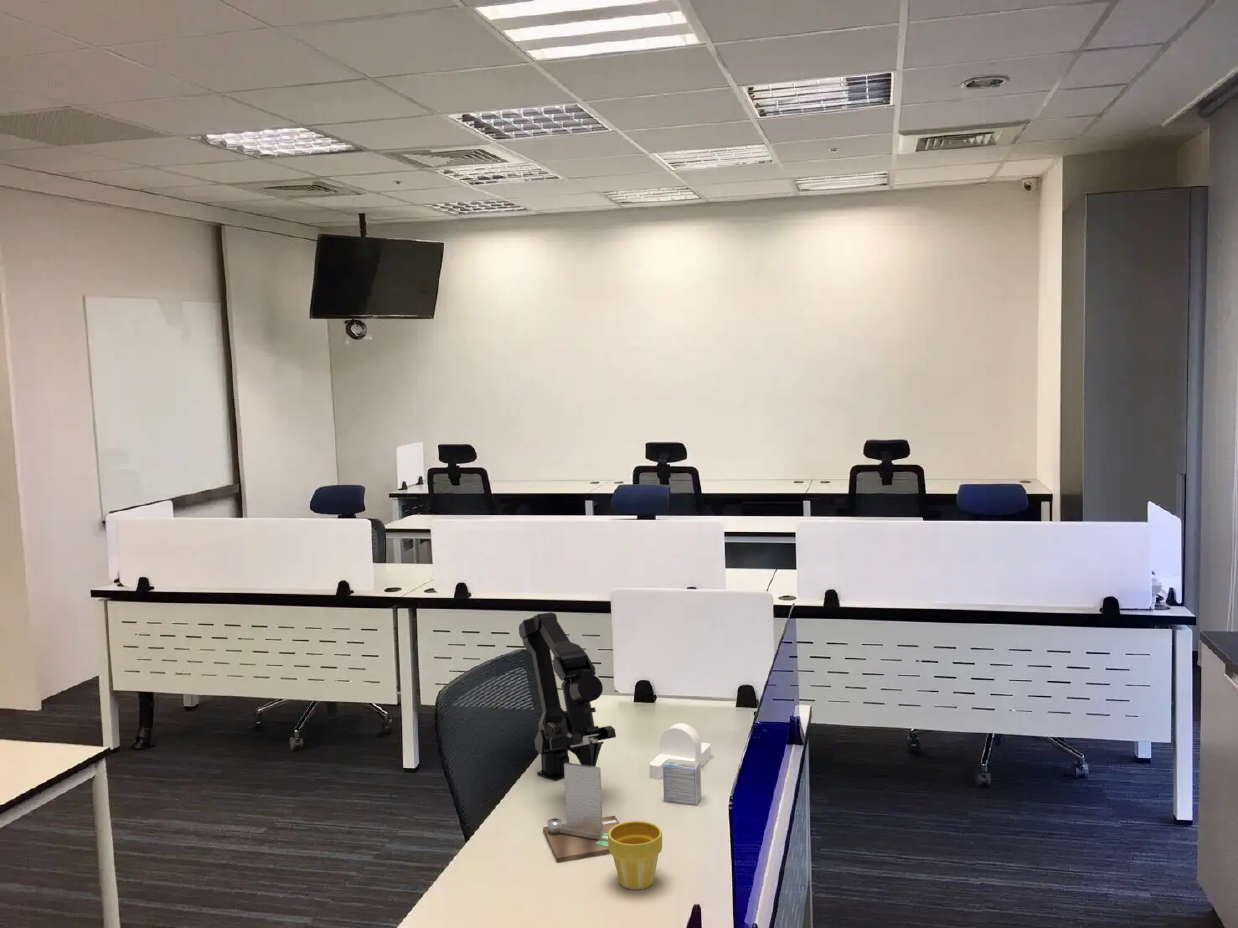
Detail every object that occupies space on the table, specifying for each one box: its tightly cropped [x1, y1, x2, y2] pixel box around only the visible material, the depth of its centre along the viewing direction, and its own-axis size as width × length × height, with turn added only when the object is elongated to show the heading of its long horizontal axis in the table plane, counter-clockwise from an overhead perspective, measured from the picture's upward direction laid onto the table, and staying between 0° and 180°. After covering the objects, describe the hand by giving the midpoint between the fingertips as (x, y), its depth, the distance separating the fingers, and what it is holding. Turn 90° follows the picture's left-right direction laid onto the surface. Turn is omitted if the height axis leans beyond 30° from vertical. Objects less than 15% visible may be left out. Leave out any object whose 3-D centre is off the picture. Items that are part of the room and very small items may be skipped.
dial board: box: [542, 815, 620, 864], centre depth 200 cm, size 16×14×1 cm
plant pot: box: [608, 820, 663, 890], centre depth 183 cm, size 10×10×10 cm
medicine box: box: [662, 759, 702, 806], centre depth 218 cm, size 8×4×9 cm, turn 71°
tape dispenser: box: [649, 722, 712, 781], centre depth 236 cm, size 10×18×11 cm, turn 153°
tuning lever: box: [547, 762, 608, 840], centre depth 199 cm, size 16×3×15 cm, turn 66°
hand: (590, 777), depth 212 cm, fingers closed
